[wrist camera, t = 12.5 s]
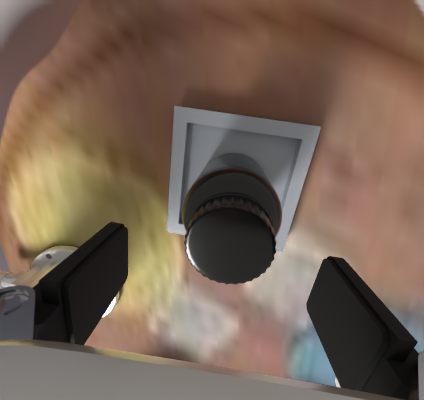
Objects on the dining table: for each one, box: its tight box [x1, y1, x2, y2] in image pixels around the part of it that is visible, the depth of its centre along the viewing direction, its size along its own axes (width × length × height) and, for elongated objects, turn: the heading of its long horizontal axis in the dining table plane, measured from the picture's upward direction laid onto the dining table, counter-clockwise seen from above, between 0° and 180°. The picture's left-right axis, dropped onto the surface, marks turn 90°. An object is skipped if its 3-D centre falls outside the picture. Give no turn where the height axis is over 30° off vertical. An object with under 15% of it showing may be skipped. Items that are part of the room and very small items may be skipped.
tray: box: [167, 106, 321, 252], centre depth 21 cm, size 13×13×2 cm
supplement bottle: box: [182, 153, 282, 284], centre depth 16 cm, size 7×7×12 cm
